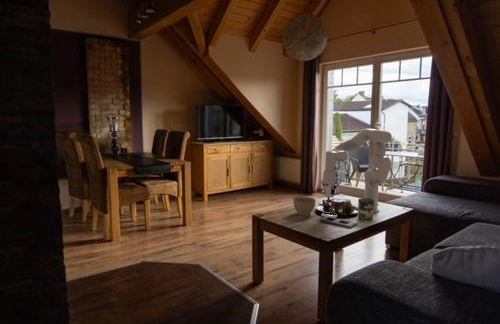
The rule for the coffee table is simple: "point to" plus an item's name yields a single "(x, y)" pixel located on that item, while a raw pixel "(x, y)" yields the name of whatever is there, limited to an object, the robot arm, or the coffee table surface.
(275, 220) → the coffee table surface
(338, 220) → the dark grey flat plate
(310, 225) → the coffee table surface
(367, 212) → the coffee can
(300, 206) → the planter bowl
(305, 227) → the coffee table surface
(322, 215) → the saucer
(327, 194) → the light grey block
